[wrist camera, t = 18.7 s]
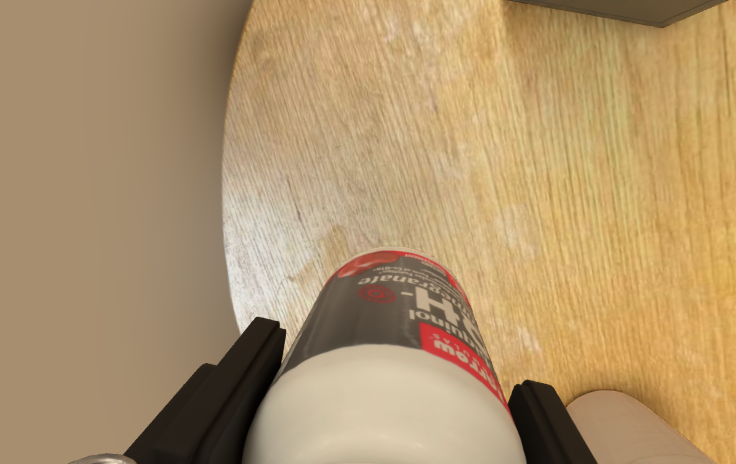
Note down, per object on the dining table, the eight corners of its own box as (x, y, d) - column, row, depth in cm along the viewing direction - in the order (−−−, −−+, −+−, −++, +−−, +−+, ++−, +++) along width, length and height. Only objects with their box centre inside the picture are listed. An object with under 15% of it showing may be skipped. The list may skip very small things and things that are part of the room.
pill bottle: (482, 254, 13) (697, 588, 3) (453, 388, 14) (549, 886, 5) (326, 231, 13) (127, 481, 4) (313, 365, 15) (146, 790, 5)
